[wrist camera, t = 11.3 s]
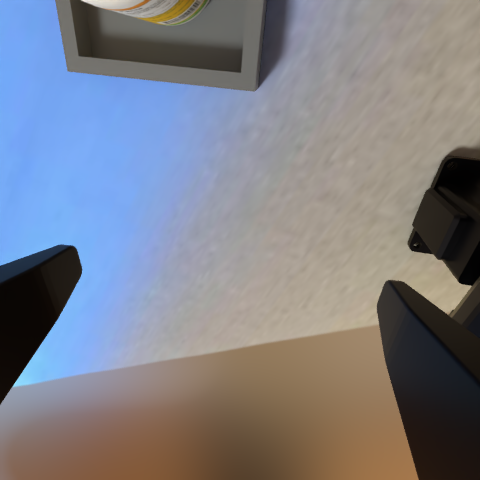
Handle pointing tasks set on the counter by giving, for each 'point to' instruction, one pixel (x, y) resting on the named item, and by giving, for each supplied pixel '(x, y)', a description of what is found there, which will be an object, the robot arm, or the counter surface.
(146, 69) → the tray
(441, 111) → the counter surface
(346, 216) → the counter surface
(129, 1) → the supplement bottle
